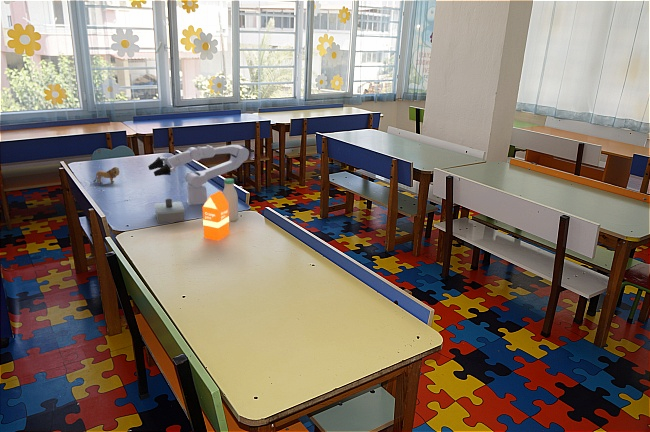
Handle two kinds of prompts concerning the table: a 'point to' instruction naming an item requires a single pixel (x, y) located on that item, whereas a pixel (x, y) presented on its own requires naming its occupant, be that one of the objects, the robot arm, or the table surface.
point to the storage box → (170, 217)
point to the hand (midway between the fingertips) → (151, 171)
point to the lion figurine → (107, 174)
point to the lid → (169, 207)
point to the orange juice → (216, 217)
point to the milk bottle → (231, 199)
